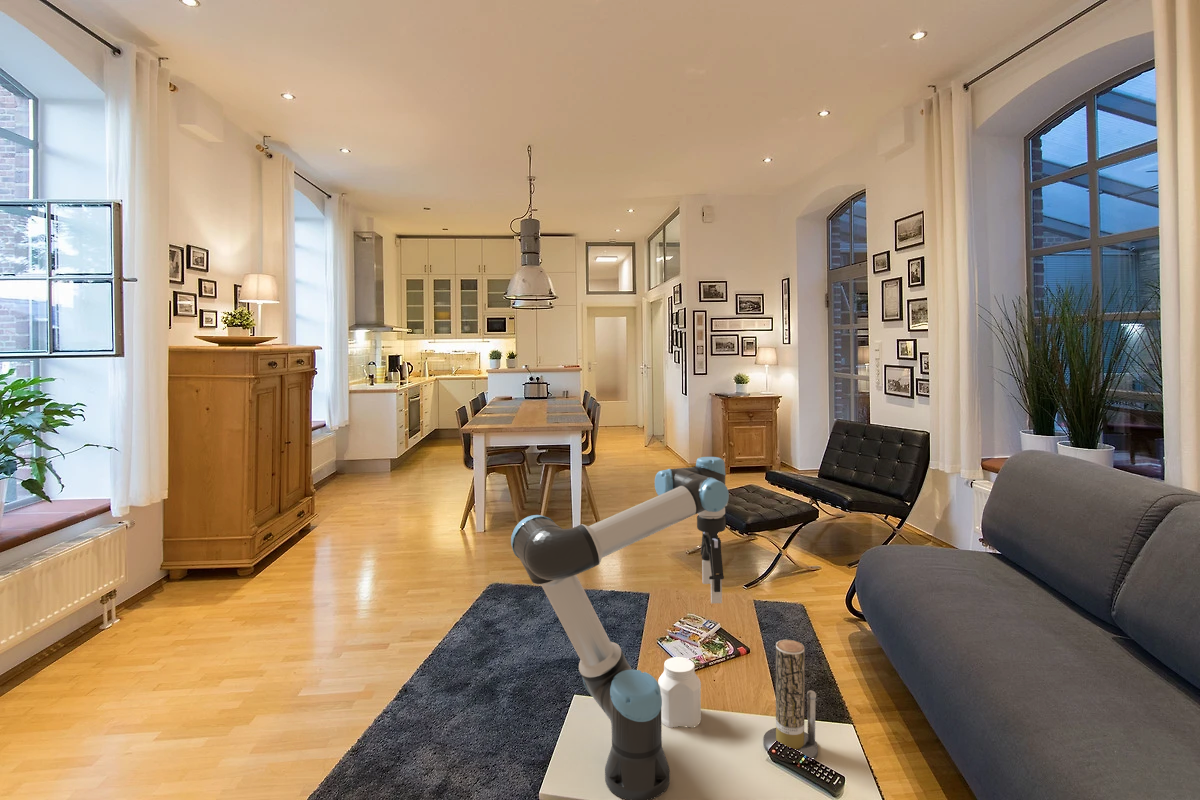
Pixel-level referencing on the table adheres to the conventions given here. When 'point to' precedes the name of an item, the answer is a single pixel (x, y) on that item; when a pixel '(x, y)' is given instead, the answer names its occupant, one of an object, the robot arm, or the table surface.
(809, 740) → the stand
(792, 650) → the paper tube
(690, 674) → the jar
